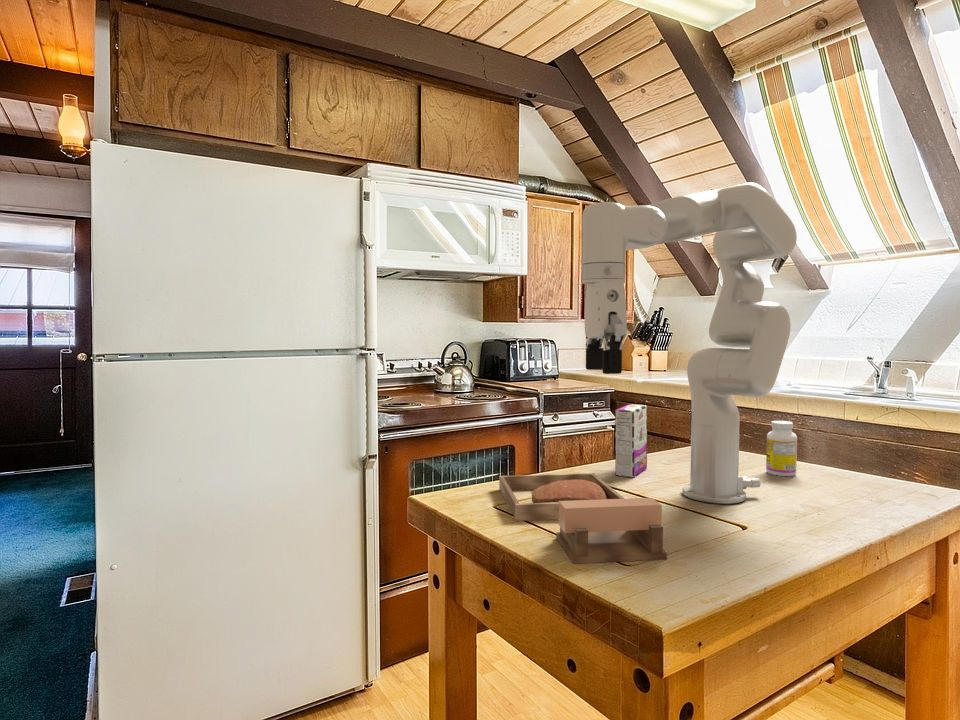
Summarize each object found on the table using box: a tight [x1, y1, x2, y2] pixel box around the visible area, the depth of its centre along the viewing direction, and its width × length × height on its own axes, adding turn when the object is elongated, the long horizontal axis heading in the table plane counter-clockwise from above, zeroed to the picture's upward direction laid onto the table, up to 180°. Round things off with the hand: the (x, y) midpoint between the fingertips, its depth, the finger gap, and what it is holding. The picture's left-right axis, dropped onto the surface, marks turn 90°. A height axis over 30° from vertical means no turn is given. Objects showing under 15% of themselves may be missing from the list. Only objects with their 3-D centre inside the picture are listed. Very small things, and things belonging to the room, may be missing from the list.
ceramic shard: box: [530, 479, 607, 503], centre depth 120 cm, size 15×6×15 cm
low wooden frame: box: [498, 472, 625, 522], centre depth 122 cm, size 22×22×3 cm
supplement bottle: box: [765, 420, 798, 477], centre depth 144 cm, size 7×7×13 cm
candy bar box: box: [614, 403, 648, 479], centre depth 146 cm, size 11×5×16 cm, turn 148°
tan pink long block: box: [558, 497, 663, 533], centre depth 96 cm, size 16×4×4 cm, turn 96°
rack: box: [555, 524, 668, 565], centre depth 96 cm, size 15×11×5 cm
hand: (602, 371), depth 105 cm, fingers open, 9 cm apart
